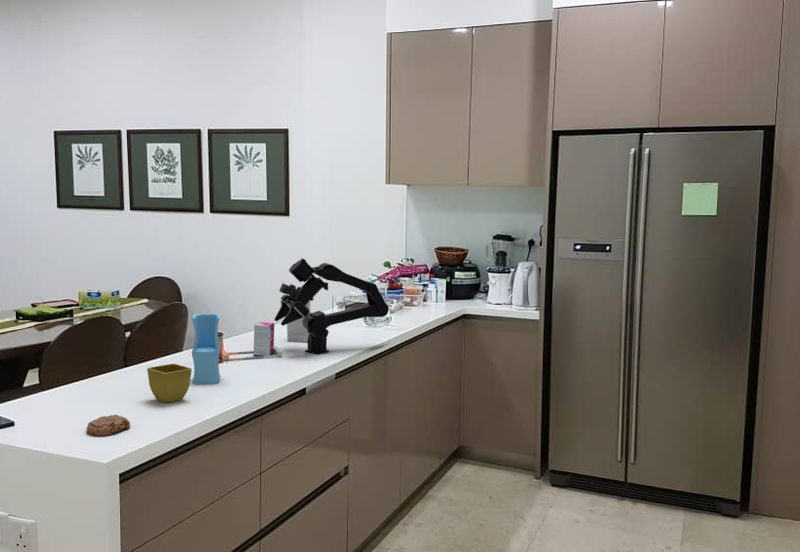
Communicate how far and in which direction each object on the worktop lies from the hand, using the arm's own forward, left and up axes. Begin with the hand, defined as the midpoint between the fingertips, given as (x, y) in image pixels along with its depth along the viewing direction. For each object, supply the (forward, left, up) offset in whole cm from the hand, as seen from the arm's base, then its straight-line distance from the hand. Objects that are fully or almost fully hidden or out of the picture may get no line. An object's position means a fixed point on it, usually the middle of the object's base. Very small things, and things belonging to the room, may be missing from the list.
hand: (278, 322), depth 261 cm
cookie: (-29, +85, -12) cm, 91 cm away
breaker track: (+5, +9, -11) cm, 15 cm away
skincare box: (+12, -23, -12) cm, 28 cm away
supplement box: (+3, +4, -12) cm, 13 cm away
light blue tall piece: (-10, +40, -12) cm, 43 cm away
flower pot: (-19, +60, -12) cm, 64 cm away
